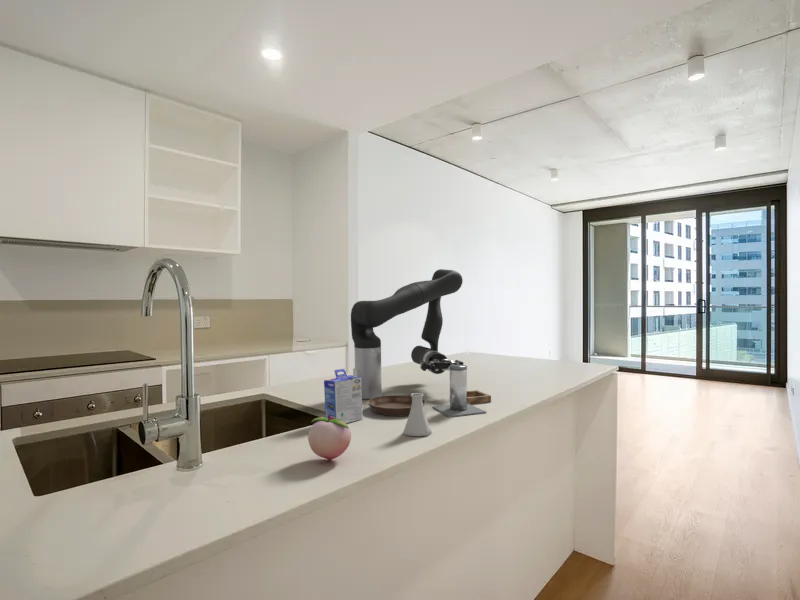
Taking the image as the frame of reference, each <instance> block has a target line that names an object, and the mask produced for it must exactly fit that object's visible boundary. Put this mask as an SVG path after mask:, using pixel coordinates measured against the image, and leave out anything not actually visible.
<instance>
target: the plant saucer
mask: <svg viewBox="0 0 800 600" xmlns="http://www.w3.org/2000/svg"><path fill="white" fill-rule="evenodd" d="M426 402H427V401H426V399H424V398H422V403H423V407H424V406H425V405H426ZM367 403H368V405H369V407H370V408H371V410H372V411H373V412H375V413H376V414H378V413H379V415H384V416H389V415H390V417H394V416H395V417H401V416H400V415H404V416H409V414H410V411H411V405H412V397H411V395H403V394H401V395H400V394H399V395H398V394H395V395H392V394H390V395H382V396H380V397H376V398H372V399H368V400H367Z"/></svg>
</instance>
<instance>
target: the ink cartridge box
mask: <svg viewBox="0 0 800 600" xmlns="http://www.w3.org/2000/svg"><path fill="white" fill-rule="evenodd" d="M341 372H342V374H341ZM338 373H340V374H338ZM334 374H335V377H334V378H331V379H329V378H328V379H325V380H323V387H324V389H323V390H324V392H323V393H324V408H325V409H324V411H325V414H324V415H325V418H328V414H330V420H332V419H340V420H342V421H344V422H345V423H346V424H348V423H349V424H350V423H353V422H356V421H359V420H362V419H363V399H362V389H361V377H359V376H353V374H351V375H348V374H347V371H346V370H345V368H341V369H335V370H334Z"/></svg>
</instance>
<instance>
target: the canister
mask: <svg viewBox="0 0 800 600" xmlns="http://www.w3.org/2000/svg"><path fill="white" fill-rule="evenodd" d="M449 369H450V371H449V405H450V409H451V410H454V411H464V410H467V391H468V376H467V375H468V365H465V364H463V365H450V366H449Z"/></svg>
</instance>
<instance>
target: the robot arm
mask: <svg viewBox="0 0 800 600" xmlns="http://www.w3.org/2000/svg"><path fill="white" fill-rule="evenodd" d="M463 281H464V280H463V276H462V274H461V273H460V272H459V271H456V270H453V269H442V268H441V269H437V270H435V272H434V273H433V275H432V277H431V279H430V280H429V279H428V280H420V281H414V282H412V283H409V284H406V285H404V286H402V287H400V288H397V290H396V291H395V292H394V293H393V294H392V295H390V296H388V297H385V298H382V299H379V300H358V301H356V302H355V303H354V304H353V306H352V308H351V311H350V328H351V339H352V341H353V344H354V345H353V348H354V367H353V369H352V373H353V374H352V375H353V376H359V377H361V389H362V400H370V399H372V398H376V397H380V396H383V395H382V391H383V388H382V341H381V339H380V337H379V336H377V334H376V333H375V331H374V328H377V327H380V326H381V325H383V324H385V323H387V322H388V321H390V320H392V319H393V318H395V317H397V316H400V315H403V314H404V313H407V312H409V311H412V310H414V309H417V308H419V307H421V306H423V305H425V304H428V305H427V313H426V318H425V321H424V324H423V329H422V332H421V337H420V338H421V340H423V341H425V342H427V343H428V344H429V347H430V348H429V347H426V346H423V345H416V346H415V347H413V349H412V350H411V353H410V357H411V360H412V362H413V363H415V364H418V365H419V366H420V370H421V371H423V372H425V371H429V372H431V373H432V374H435V375H441V374H443V373H444V372H445V371H449V372H450V369H449V366H450V365H465V364H464V361H461V360H458V359H456V360H453V359H452V360H451V359H448V357H447V356H446V355H445V354H444V353H442V352H439V339H440V335H441V331H442V329H443V328H442V327H443V321H444V320H443V314H442V308H441V299H442V297H444V296H447V295H448V296H449V295H451V294H455V293H457V292H458V291H459V290H460V289H461V288H462V285H463Z"/></svg>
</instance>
